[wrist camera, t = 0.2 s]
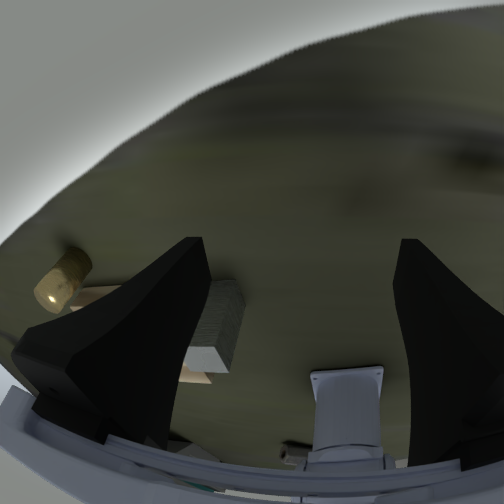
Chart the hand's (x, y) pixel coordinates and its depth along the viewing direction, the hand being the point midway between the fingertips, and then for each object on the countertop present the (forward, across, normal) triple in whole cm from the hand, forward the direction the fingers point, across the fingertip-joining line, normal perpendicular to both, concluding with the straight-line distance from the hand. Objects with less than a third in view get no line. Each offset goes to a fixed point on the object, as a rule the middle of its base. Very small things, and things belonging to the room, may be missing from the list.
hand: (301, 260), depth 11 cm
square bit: (+10, +7, +11) cm, 17 cm away
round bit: (+10, +22, +8) cm, 25 cm away
